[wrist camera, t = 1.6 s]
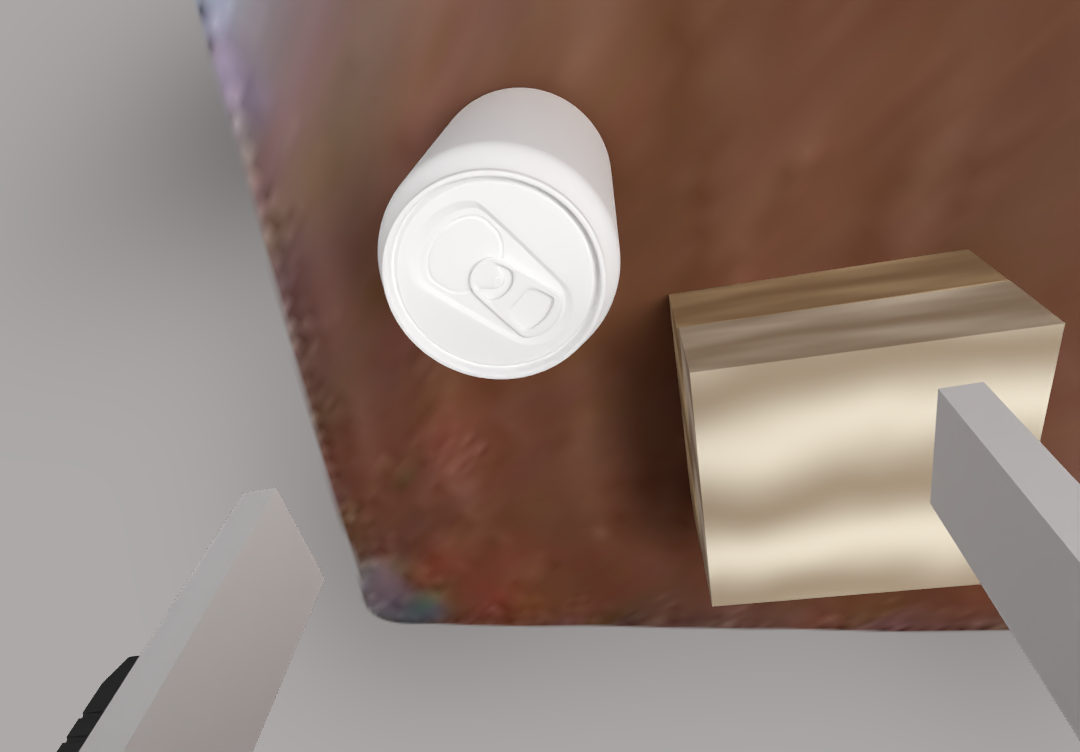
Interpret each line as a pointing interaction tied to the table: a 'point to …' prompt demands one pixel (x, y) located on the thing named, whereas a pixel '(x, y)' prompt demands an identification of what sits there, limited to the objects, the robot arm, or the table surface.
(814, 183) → the table surface
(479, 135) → the beverage can
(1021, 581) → the robot arm
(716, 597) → the top slab
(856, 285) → the bottom slab
